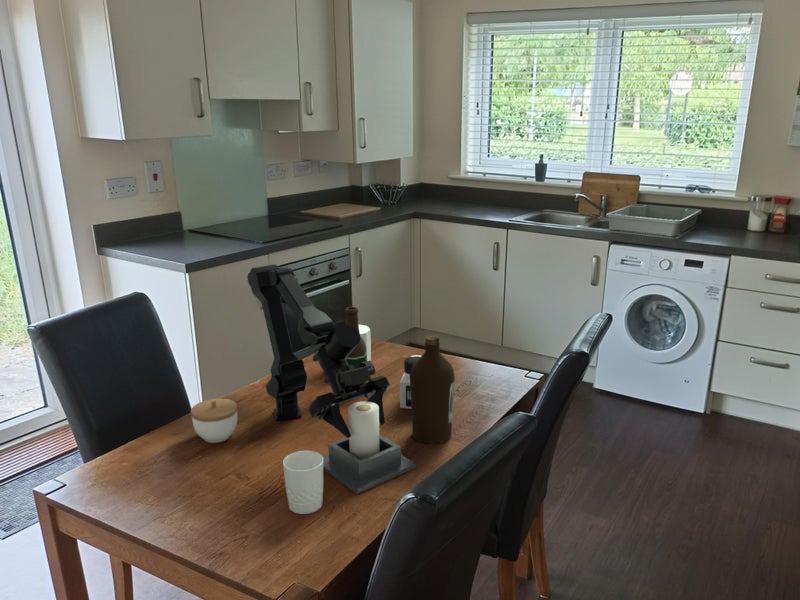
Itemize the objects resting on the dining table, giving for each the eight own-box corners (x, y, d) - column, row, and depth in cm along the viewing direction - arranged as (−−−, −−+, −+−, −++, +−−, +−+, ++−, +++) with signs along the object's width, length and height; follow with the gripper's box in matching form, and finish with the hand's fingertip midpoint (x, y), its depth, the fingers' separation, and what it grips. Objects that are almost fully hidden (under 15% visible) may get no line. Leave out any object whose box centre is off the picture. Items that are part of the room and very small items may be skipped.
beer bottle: (373, 387, 188) (371, 306, 181) (357, 397, 181) (354, 314, 175) (351, 381, 192) (348, 302, 185) (334, 391, 185) (331, 309, 179)
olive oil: (411, 446, 155) (410, 345, 148) (409, 425, 166) (408, 330, 159) (456, 444, 156) (457, 344, 149) (451, 424, 166) (452, 329, 159)
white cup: (308, 521, 128) (305, 475, 125) (277, 508, 132) (274, 463, 129) (333, 501, 134) (331, 456, 131) (303, 489, 138) (300, 446, 135)
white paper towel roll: (345, 466, 145) (343, 411, 141) (357, 452, 151) (355, 399, 147) (372, 471, 143) (371, 416, 139) (384, 456, 149) (383, 403, 145)
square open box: (314, 463, 148) (313, 443, 147) (371, 440, 158) (371, 421, 156) (357, 494, 136) (356, 472, 135) (415, 467, 146) (415, 447, 145)
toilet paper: (340, 359, 209) (339, 323, 205) (373, 360, 208) (372, 324, 204) (334, 372, 199) (332, 334, 196) (368, 373, 198) (367, 335, 195)
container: (428, 410, 173) (428, 364, 170) (399, 408, 175) (399, 362, 171) (433, 398, 181) (433, 353, 177) (405, 396, 182) (405, 352, 178)
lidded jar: (185, 437, 160) (181, 402, 158) (223, 422, 168) (220, 388, 165) (209, 452, 153) (205, 415, 151) (248, 436, 161) (245, 400, 158)
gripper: (313, 362, 137) (346, 429, 132) (384, 341, 149) (416, 403, 144) (295, 385, 145) (325, 449, 140) (363, 364, 157) (393, 423, 152)
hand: (366, 430), depth 144 cm, fingers open, 9 cm apart
